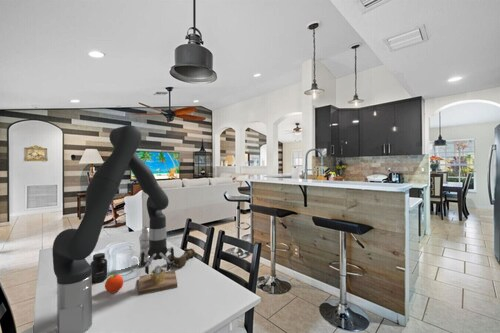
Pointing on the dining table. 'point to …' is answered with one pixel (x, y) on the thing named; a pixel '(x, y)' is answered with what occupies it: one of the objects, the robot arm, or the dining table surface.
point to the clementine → (114, 283)
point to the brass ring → (158, 276)
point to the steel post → (157, 270)
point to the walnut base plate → (148, 287)
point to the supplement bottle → (99, 268)
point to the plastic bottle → (144, 243)
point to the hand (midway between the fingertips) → (157, 272)
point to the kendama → (182, 258)
